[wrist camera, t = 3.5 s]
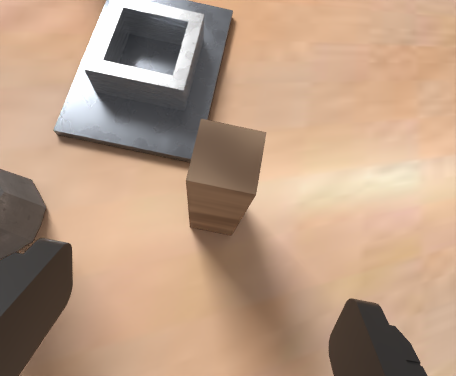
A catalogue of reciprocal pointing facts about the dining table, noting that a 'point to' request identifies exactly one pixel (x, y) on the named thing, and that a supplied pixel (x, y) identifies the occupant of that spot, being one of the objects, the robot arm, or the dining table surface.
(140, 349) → the dining table surface
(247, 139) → the walnut post
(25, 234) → the coffeepot
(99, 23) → the keeper cradle
